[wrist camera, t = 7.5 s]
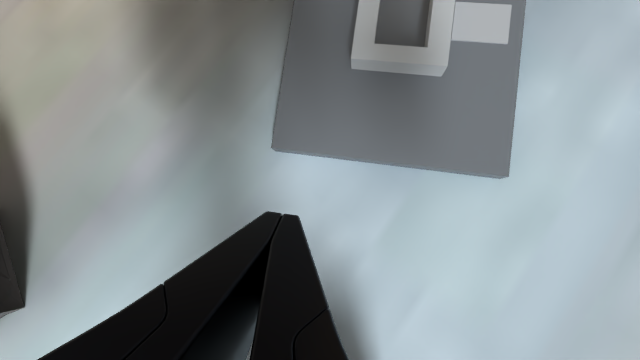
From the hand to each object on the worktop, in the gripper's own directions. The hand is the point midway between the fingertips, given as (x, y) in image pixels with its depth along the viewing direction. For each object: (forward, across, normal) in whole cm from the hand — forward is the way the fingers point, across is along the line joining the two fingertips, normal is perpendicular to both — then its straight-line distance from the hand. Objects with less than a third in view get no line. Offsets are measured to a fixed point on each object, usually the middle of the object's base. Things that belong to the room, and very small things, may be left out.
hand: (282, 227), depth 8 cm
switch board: (+17, -4, -4) cm, 18 cm away
